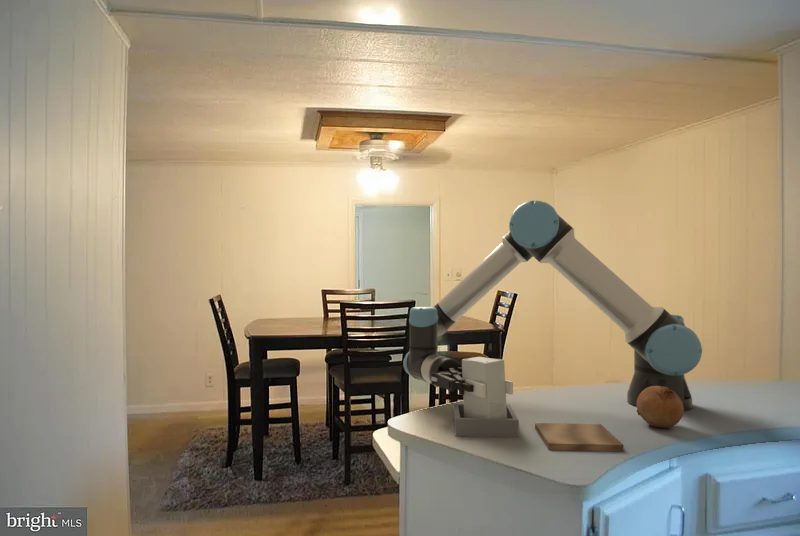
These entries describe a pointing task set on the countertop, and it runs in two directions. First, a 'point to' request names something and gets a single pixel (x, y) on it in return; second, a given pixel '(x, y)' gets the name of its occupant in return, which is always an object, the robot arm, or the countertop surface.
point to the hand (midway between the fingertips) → (498, 389)
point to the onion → (660, 406)
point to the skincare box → (494, 380)
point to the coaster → (577, 437)
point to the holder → (485, 424)
